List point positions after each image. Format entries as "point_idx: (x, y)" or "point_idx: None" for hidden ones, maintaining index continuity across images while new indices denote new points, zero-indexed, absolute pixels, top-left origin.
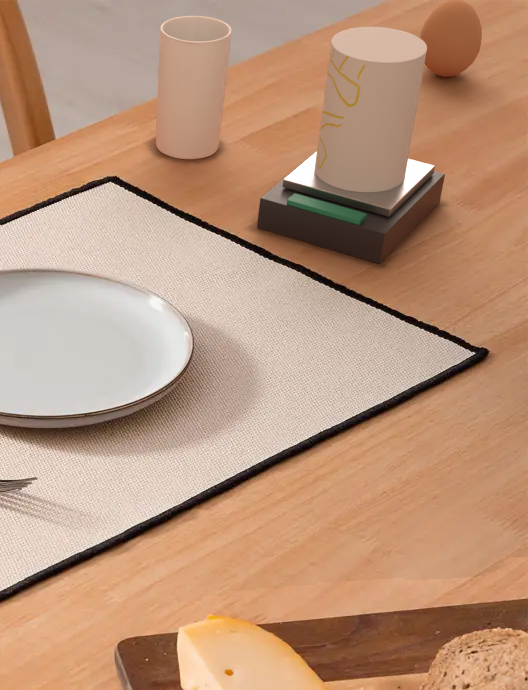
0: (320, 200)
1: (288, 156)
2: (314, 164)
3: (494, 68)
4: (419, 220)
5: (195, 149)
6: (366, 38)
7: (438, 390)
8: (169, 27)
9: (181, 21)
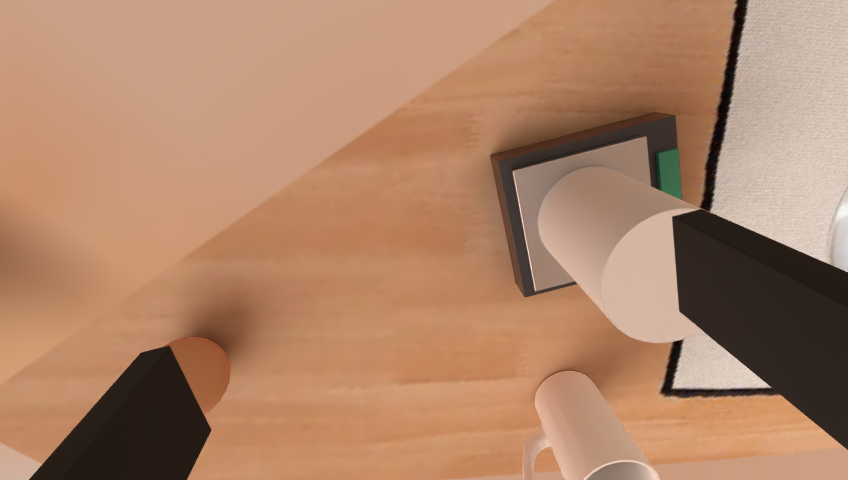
0: None
1: (511, 325)
2: None
3: (133, 329)
4: (551, 140)
5: (589, 380)
6: (663, 303)
7: None
8: None
9: None
